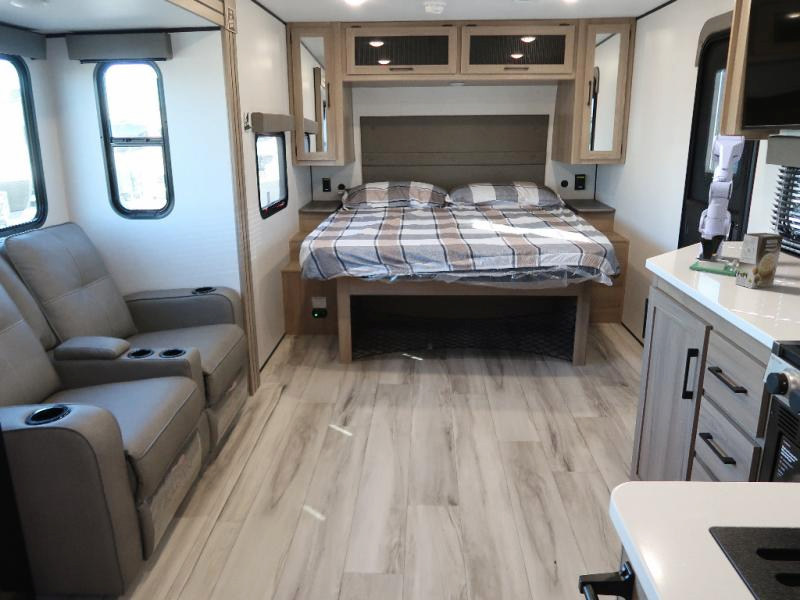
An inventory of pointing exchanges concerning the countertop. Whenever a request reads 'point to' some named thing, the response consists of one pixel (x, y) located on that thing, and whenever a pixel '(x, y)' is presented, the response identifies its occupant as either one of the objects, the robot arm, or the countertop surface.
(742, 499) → the countertop surface
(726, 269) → the board
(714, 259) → the plug
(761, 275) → the coffee box
